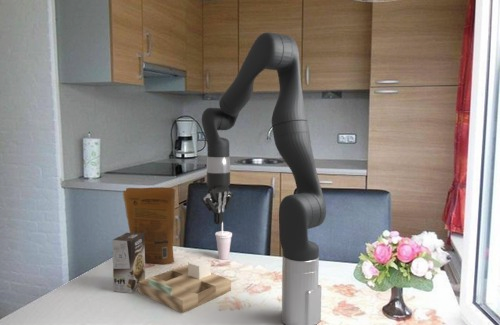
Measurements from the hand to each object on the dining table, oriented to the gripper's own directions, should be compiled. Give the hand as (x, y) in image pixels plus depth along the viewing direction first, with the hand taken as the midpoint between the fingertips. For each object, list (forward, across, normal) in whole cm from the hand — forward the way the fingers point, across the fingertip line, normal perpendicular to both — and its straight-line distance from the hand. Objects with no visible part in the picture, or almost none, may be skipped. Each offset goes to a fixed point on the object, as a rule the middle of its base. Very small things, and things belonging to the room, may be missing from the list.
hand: (218, 223), depth 131 cm
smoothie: (+18, +15, +12) cm, 27 cm away
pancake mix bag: (+19, -5, +29) cm, 35 cm away
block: (+15, -8, 0) cm, 17 cm away
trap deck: (+18, -14, 0) cm, 23 cm away
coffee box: (+18, -23, +16) cm, 34 cm away
